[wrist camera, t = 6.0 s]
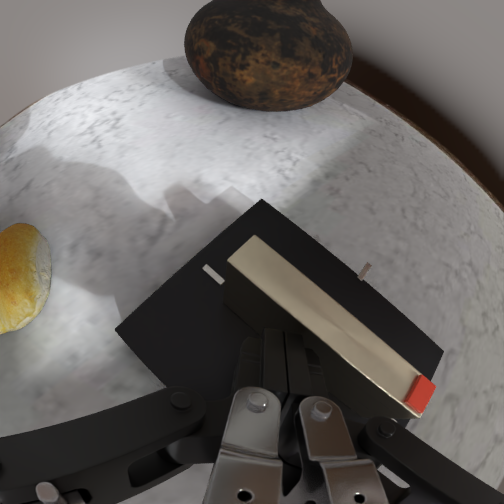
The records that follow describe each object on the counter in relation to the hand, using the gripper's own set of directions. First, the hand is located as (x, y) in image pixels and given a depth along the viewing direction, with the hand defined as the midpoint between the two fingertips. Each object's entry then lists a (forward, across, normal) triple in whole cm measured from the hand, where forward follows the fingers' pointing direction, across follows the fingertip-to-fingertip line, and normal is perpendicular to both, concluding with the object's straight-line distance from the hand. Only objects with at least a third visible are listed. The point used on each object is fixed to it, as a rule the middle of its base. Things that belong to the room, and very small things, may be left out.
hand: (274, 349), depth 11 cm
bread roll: (+5, +19, +5) cm, 20 cm away
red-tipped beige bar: (+3, -2, +2) cm, 4 cm away
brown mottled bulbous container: (+25, +5, -16) cm, 30 cm away
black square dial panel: (+5, -2, +4) cm, 7 cm away
